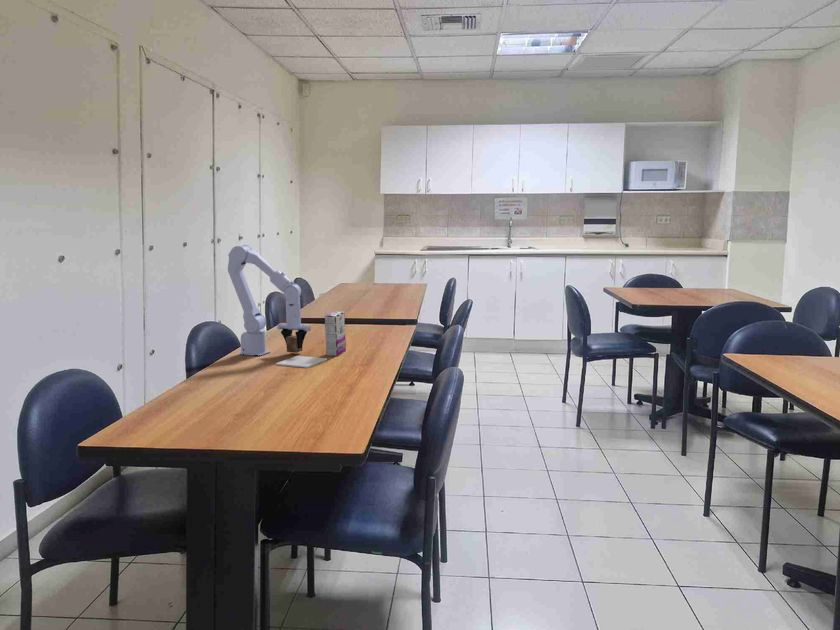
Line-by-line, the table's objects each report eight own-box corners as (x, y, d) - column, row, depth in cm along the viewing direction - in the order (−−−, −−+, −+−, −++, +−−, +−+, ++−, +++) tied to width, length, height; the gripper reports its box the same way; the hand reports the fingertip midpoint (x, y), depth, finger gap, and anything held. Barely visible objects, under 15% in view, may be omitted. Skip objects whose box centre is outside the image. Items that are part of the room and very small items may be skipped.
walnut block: (286, 351, 256) (286, 337, 255) (293, 349, 260) (292, 335, 259) (296, 352, 254) (295, 338, 253) (302, 350, 258) (302, 336, 258)
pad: (275, 365, 239) (275, 363, 238) (296, 357, 251) (296, 355, 251) (307, 368, 233) (307, 366, 233) (327, 360, 246) (327, 358, 246)
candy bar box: (334, 350, 264) (333, 311, 262) (346, 350, 263) (345, 311, 261) (325, 356, 253) (324, 315, 251) (337, 356, 252) (336, 315, 250)
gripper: (272, 314, 254) (273, 348, 256) (303, 317, 248) (304, 350, 251) (282, 312, 260) (283, 344, 263) (313, 314, 255) (314, 347, 257)
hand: (294, 347), depth 257 cm, fingers closed on walnut block, 4 cm apart
